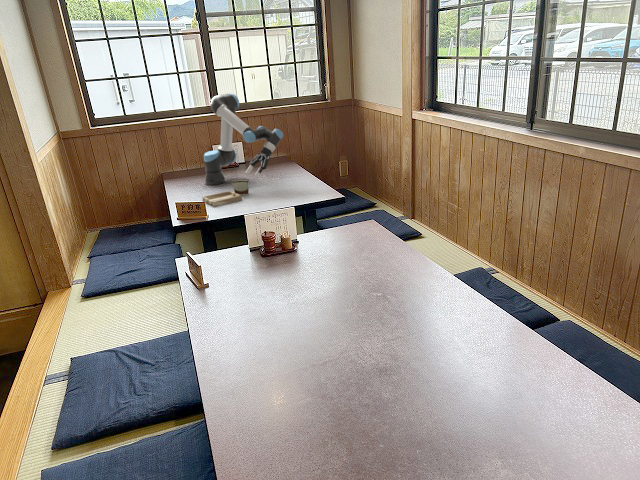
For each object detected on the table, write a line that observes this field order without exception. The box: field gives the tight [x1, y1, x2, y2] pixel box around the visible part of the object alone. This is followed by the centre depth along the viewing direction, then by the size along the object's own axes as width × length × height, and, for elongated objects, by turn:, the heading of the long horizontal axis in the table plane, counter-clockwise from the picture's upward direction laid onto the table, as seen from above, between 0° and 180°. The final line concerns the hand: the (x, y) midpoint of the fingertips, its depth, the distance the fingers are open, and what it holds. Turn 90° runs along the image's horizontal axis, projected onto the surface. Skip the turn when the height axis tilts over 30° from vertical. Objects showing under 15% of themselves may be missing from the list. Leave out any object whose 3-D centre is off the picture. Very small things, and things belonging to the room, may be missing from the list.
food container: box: [231, 177, 250, 196], centre depth 329 cm, size 12×6×10 cm, turn 84°
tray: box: [201, 190, 243, 208], centre depth 317 cm, size 18×20×3 cm
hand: (251, 175), depth 330 cm, fingers open, 13 cm apart
